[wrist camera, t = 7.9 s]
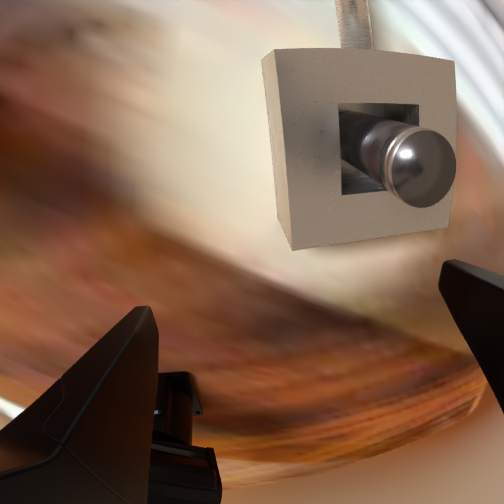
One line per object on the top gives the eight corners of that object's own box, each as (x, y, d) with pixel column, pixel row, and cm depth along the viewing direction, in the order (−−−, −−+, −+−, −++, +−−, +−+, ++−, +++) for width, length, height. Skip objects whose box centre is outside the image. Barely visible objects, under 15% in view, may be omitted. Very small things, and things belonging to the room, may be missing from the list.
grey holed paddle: (412, 201, 21) (448, 227, 17) (277, 218, 21) (292, 250, 17) (390, -62, 12) (423, -83, 8) (242, -76, 11) (248, -111, 7)
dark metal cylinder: (376, 160, 19) (452, 205, 12) (328, 164, 19) (390, 212, 12) (375, 110, 17) (458, 131, 10) (325, 111, 17) (393, 129, 10)
